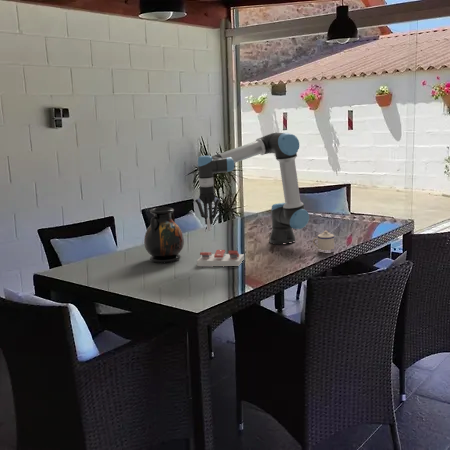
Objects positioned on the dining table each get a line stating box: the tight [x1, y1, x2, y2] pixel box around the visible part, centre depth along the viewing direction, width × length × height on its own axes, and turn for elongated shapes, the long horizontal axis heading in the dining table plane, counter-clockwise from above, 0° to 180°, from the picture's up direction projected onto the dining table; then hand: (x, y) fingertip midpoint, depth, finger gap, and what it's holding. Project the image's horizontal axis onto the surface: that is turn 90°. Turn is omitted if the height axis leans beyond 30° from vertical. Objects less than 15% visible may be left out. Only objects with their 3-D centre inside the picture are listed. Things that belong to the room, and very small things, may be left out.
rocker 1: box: [199, 251, 212, 257], centre depth 305 cm, size 4×6×3 cm
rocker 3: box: [227, 250, 240, 258], centre depth 302 cm, size 4×6×3 cm
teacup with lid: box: [312, 230, 335, 250], centre depth 319 cm, size 12×9×12 cm
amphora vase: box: [143, 206, 185, 264], centre depth 315 cm, size 22×22×28 cm
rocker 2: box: [214, 249, 226, 258], centre depth 304 cm, size 4×6×3 cm
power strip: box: [196, 253, 245, 268], centre depth 306 cm, size 22×14×3 cm, turn 77°
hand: (209, 230), depth 308 cm, fingers closed
